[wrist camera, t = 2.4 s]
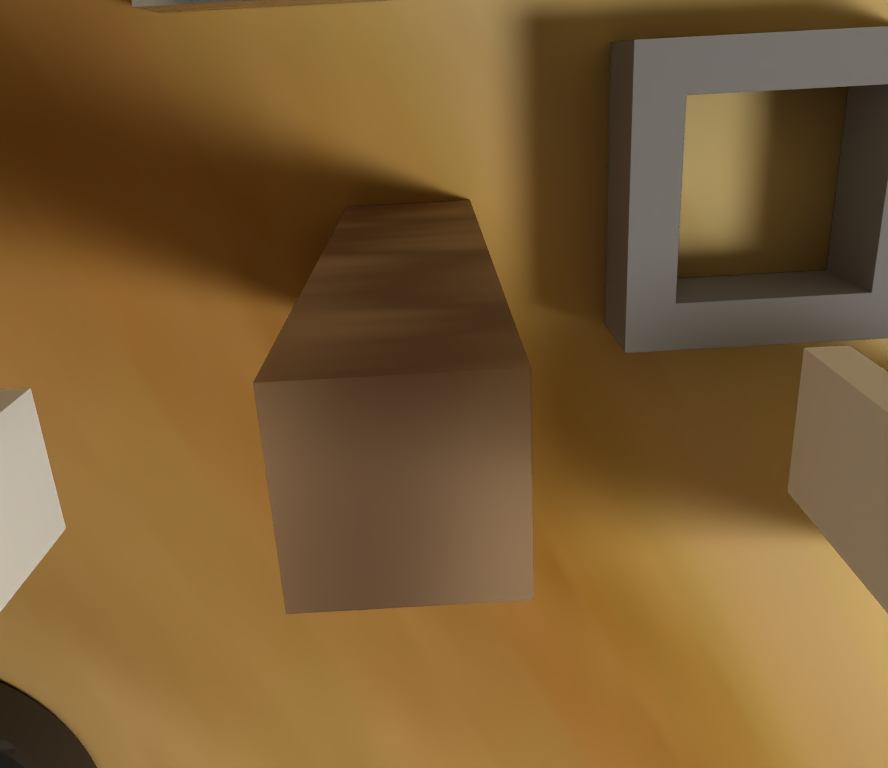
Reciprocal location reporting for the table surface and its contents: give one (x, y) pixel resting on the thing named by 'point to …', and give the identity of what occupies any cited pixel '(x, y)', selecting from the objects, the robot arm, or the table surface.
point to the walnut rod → (400, 421)
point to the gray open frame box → (224, 4)
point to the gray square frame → (660, 183)
